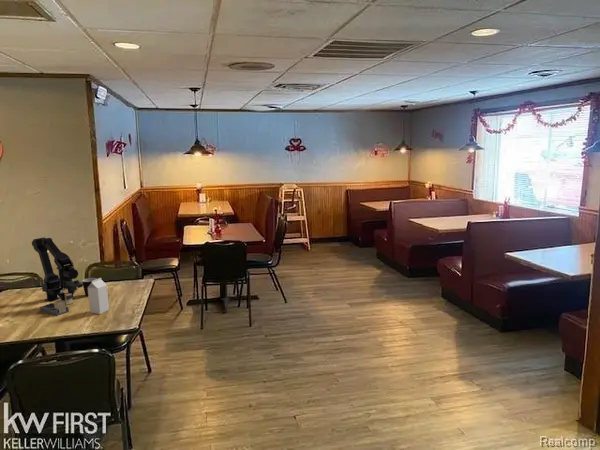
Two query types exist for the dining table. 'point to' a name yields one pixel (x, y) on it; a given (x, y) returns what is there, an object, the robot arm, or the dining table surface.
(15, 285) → the dining table surface
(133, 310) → the dining table surface
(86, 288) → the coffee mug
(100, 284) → the milk carton
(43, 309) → the rail
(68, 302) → the block
